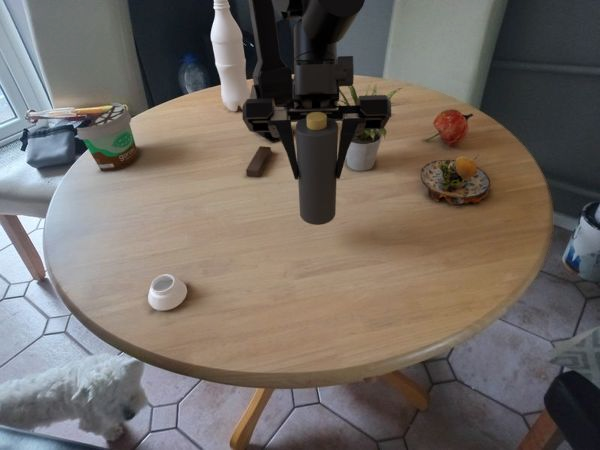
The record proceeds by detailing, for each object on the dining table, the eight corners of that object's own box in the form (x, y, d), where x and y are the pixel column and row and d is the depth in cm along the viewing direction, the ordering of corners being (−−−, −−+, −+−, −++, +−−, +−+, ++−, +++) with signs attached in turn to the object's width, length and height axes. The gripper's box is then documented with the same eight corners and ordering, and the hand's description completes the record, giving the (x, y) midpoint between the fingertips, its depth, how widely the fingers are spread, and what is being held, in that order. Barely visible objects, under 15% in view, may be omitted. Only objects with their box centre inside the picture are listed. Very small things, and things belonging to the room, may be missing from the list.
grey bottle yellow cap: (319, 197, 57) (318, 103, 47) (342, 214, 54) (347, 116, 44) (292, 212, 55) (286, 115, 45) (315, 230, 52) (314, 131, 41)
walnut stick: (260, 152, 78) (259, 146, 77) (271, 153, 78) (270, 146, 77) (247, 176, 72) (245, 169, 71) (258, 177, 71) (257, 170, 70)
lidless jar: (194, 288, 51) (165, 278, 53) (189, 274, 49) (159, 264, 51) (172, 317, 48) (142, 305, 50) (166, 303, 46) (134, 291, 48)
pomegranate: (432, 160, 77) (481, 138, 71) (415, 131, 75) (464, 105, 69) (435, 146, 83) (481, 125, 77) (419, 118, 80) (465, 94, 75)
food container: (124, 177, 73) (104, 131, 66) (96, 175, 74) (74, 129, 67) (154, 146, 82) (139, 102, 75) (129, 144, 83) (112, 101, 76)
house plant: (306, 174, 71) (303, 90, 60) (332, 141, 80) (334, 63, 69) (378, 191, 66) (389, 103, 55) (398, 153, 75) (410, 71, 64)
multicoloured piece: (453, 161, 72) (463, 125, 67) (503, 192, 64) (518, 154, 60) (404, 178, 69) (410, 143, 64) (450, 214, 61) (462, 176, 56)
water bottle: (250, 112, 93) (234, -3, 76) (221, 113, 93) (199, -1, 76) (253, 100, 98) (238, -10, 81) (226, 101, 98) (206, -8, 82)
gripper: (232, 30, 42) (232, 167, 41) (399, 24, 41) (403, 164, 40) (250, 75, 53) (250, 183, 52) (381, 71, 52) (384, 181, 51)
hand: (317, 178), depth 49 cm, fingers closed on grey bottle yellow cap, 5 cm apart
